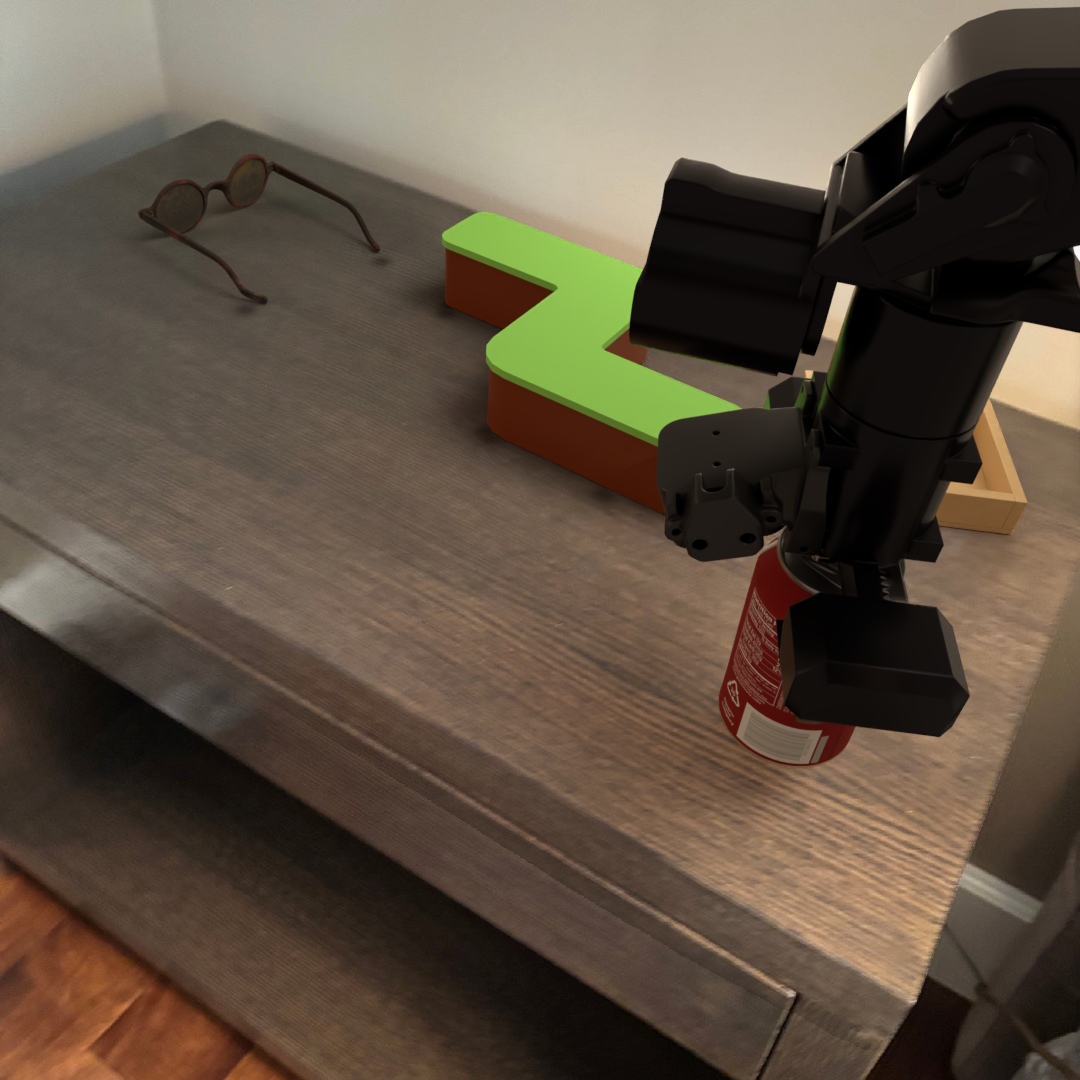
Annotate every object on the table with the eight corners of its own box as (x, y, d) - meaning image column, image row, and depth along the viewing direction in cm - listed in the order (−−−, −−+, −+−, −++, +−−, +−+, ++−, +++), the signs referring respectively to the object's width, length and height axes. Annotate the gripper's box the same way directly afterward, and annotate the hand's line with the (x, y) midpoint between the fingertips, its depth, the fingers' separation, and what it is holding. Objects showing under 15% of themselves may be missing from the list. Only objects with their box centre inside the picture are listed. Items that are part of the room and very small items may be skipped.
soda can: (811, 801, 49) (883, 639, 40) (690, 727, 52) (734, 560, 43) (870, 712, 53) (947, 547, 44) (755, 647, 56) (807, 480, 47)
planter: (340, 365, 77) (335, 296, 73) (480, 272, 89) (482, 208, 85) (692, 531, 67) (709, 461, 63) (799, 401, 78) (819, 335, 74)
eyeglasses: (276, 193, 97) (270, 140, 94) (388, 248, 91) (386, 195, 87) (144, 245, 88) (132, 189, 85) (258, 310, 82) (250, 253, 79)
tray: (973, 422, 78) (987, 391, 76) (1010, 534, 69) (1028, 502, 67) (795, 401, 78) (804, 369, 76) (809, 509, 69) (820, 477, 67)
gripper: (687, 249, 45) (639, 511, 56) (686, 536, 32) (623, 808, 42) (940, 278, 45) (843, 536, 56) (1049, 581, 31) (892, 844, 42)
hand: (799, 660), depth 49 cm, fingers closed on soda can, 7 cm apart
